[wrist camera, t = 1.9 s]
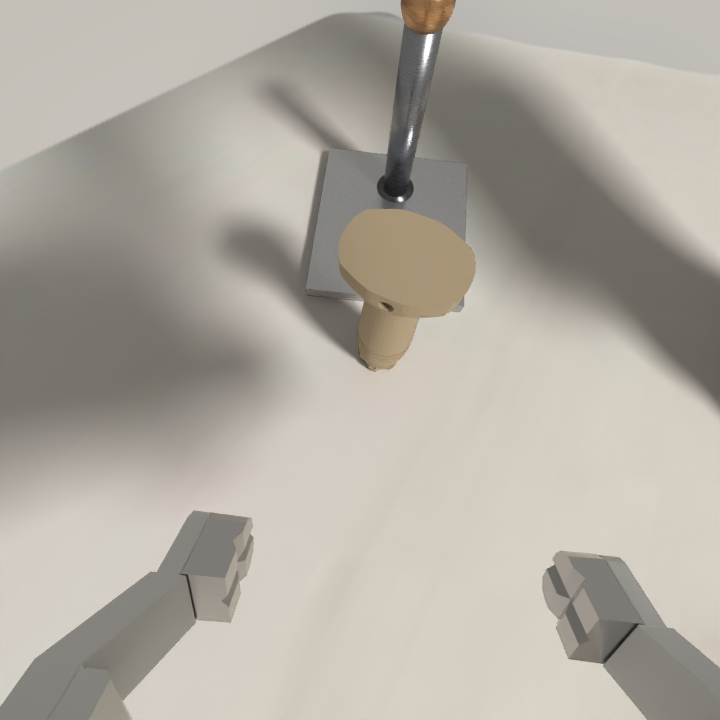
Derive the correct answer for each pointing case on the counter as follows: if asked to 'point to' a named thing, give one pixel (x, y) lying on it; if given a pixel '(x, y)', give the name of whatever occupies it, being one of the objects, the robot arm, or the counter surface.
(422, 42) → the lever with round knob
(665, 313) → the counter surface
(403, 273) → the handle
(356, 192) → the plate
